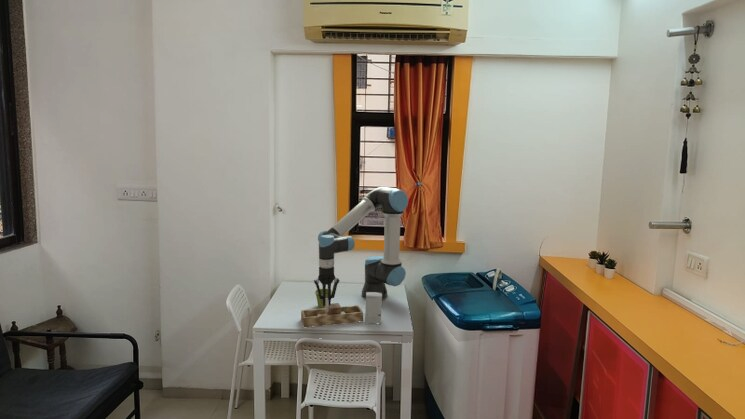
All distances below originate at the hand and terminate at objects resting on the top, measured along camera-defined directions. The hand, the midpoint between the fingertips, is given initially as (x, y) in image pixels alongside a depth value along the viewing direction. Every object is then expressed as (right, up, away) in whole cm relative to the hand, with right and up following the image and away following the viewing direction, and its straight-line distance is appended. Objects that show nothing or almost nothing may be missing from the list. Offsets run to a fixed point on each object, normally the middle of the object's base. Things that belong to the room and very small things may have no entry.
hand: (326, 311), depth 229 cm
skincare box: (+23, -6, +1) cm, 24 cm away
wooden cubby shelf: (+3, -5, +2) cm, 6 cm away
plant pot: (-4, -2, +20) cm, 21 cm away
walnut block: (+4, -2, +1) cm, 4 cm away
